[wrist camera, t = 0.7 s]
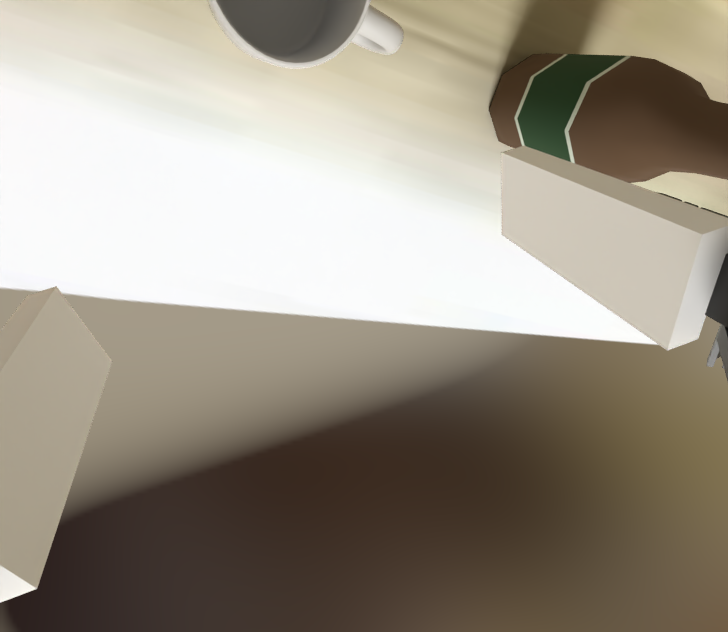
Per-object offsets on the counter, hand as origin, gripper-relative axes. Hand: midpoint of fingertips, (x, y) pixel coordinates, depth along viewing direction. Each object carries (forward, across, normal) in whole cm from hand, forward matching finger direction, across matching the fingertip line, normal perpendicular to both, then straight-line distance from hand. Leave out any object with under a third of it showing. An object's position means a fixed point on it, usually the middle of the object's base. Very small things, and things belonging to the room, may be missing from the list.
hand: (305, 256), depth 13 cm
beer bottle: (+25, +24, -4) cm, 35 cm away
